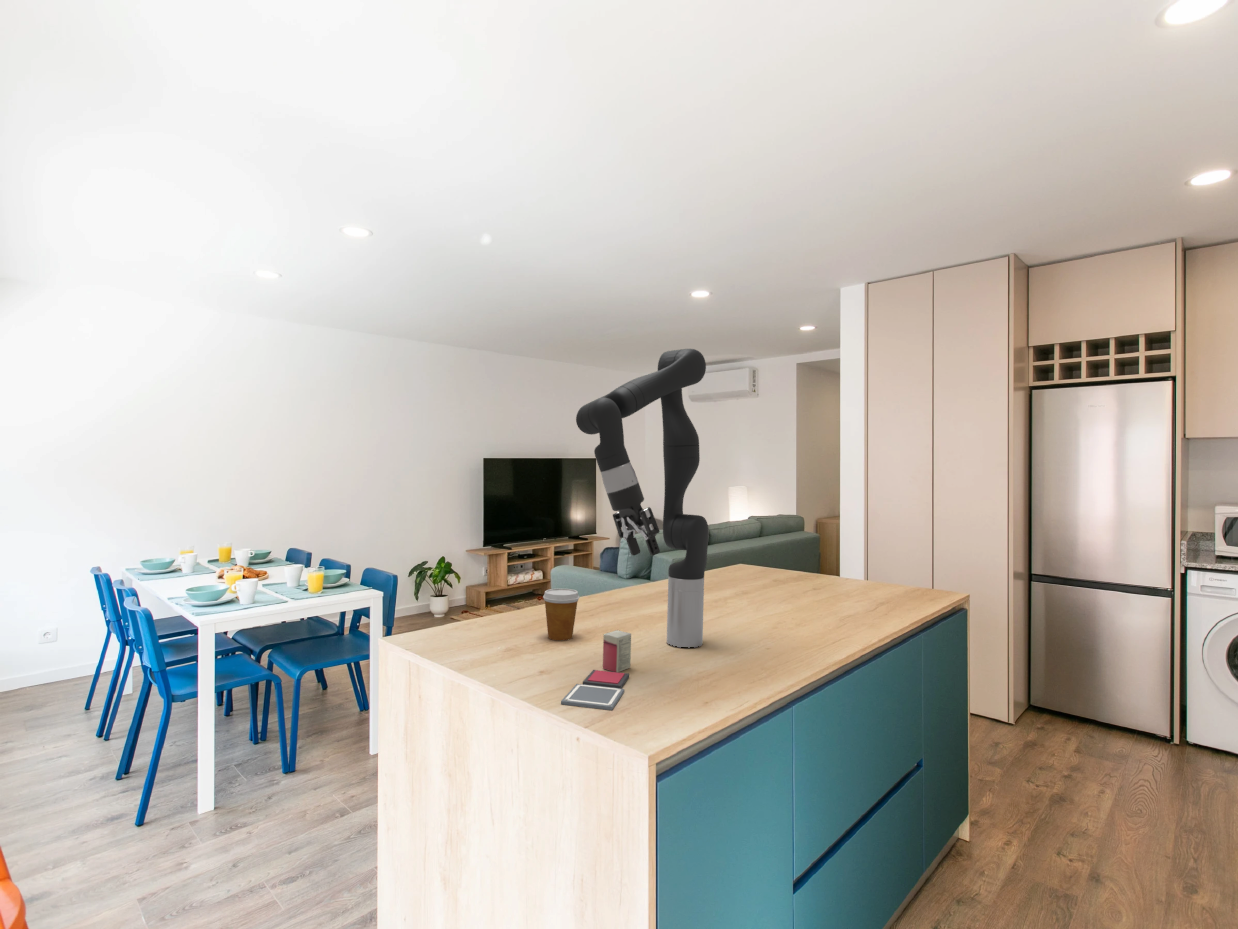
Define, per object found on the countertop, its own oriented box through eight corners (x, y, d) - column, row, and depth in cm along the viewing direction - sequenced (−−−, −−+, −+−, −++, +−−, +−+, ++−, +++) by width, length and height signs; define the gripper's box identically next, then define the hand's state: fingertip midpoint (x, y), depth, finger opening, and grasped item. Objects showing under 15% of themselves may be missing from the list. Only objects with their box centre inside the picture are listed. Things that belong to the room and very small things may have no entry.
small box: (616, 663, 146) (617, 629, 146) (630, 668, 144) (631, 633, 144) (601, 669, 142) (602, 633, 142) (616, 673, 140) (617, 637, 140)
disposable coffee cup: (581, 633, 171) (582, 589, 171) (575, 643, 162) (576, 596, 162) (546, 631, 172) (547, 587, 172) (538, 641, 163) (539, 594, 163)
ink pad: (593, 673, 139) (593, 668, 139) (629, 677, 137) (629, 672, 137) (582, 685, 131) (582, 680, 131) (620, 689, 129) (620, 684, 129)
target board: (576, 686, 131) (576, 683, 131) (624, 692, 128) (624, 688, 128) (560, 704, 121) (561, 700, 121) (612, 710, 119) (612, 706, 119)
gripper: (651, 477, 138) (676, 547, 139) (620, 483, 151) (643, 548, 151) (623, 489, 135) (648, 561, 135) (594, 494, 147) (617, 560, 148)
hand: (645, 554), depth 143 cm, fingers open, 8 cm apart
